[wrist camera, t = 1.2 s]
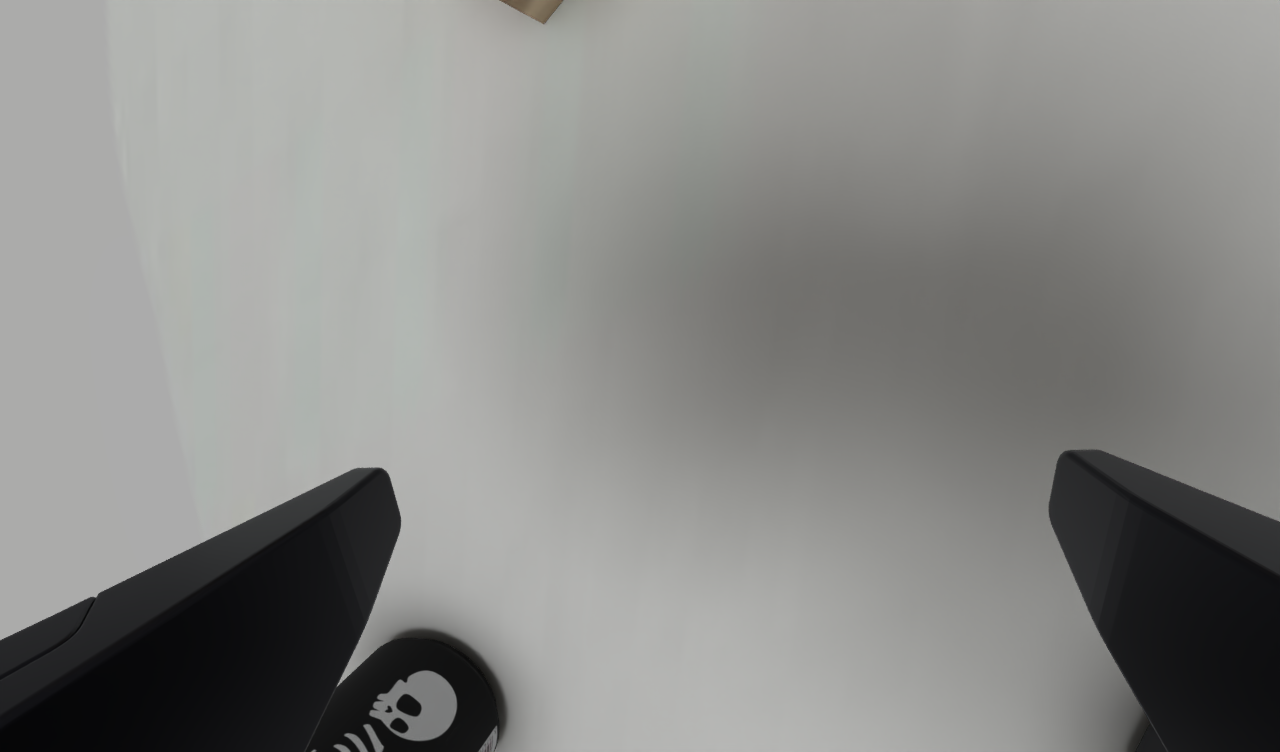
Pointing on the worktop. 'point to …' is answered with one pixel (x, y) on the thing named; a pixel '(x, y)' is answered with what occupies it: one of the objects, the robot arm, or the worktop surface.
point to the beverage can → (410, 704)
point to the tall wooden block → (535, 8)
